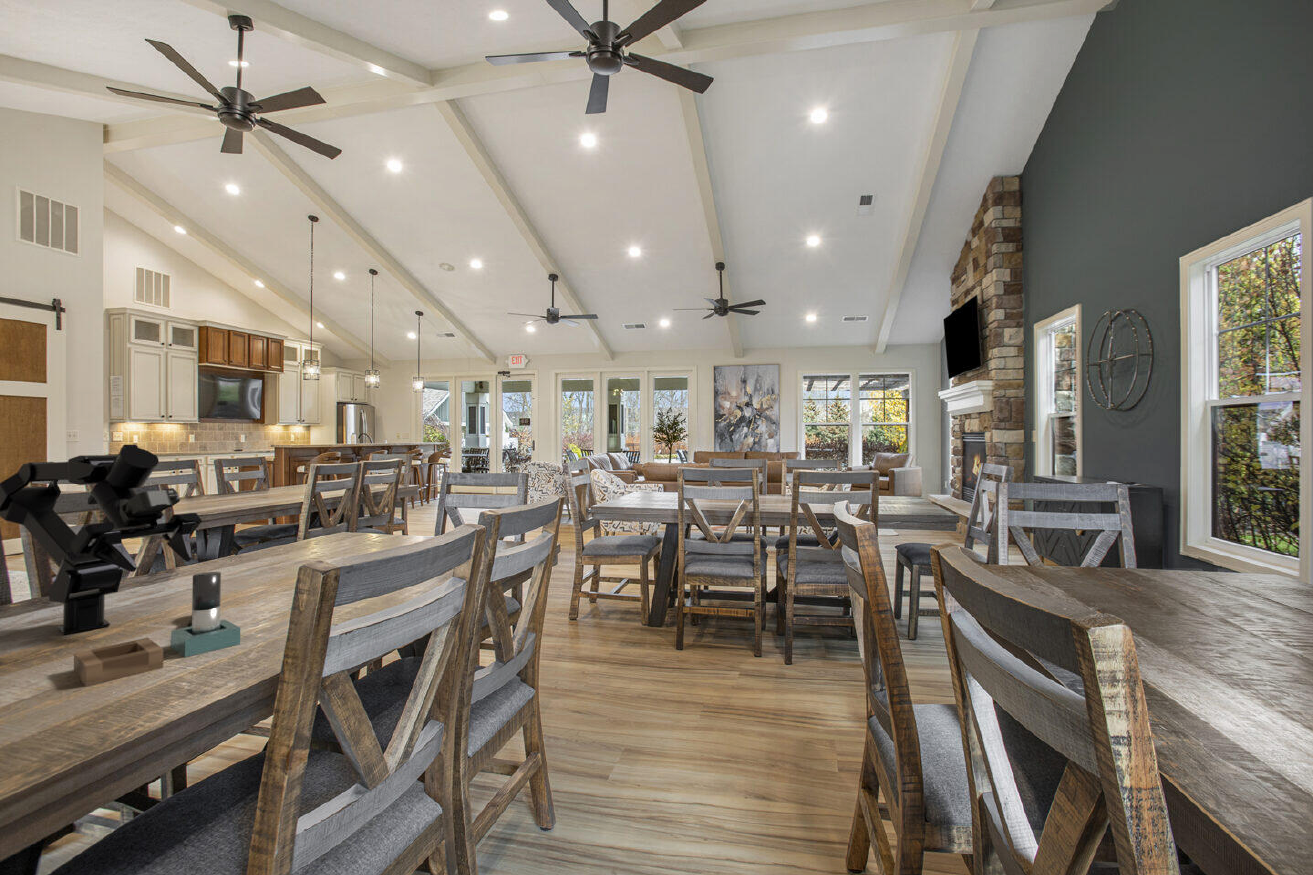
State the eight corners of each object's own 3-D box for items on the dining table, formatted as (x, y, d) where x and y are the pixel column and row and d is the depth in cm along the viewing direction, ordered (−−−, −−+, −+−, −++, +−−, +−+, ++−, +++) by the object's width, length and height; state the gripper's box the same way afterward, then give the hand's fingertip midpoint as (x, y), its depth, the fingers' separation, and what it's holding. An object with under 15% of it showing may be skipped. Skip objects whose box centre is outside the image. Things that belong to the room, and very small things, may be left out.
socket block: (170, 647, 101) (171, 630, 101) (224, 634, 107) (224, 619, 107) (185, 657, 96) (185, 639, 96) (240, 643, 103) (240, 627, 103)
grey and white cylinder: (188, 646, 101) (189, 574, 101) (215, 640, 105) (216, 570, 105) (195, 651, 99) (196, 578, 99) (223, 644, 102) (224, 573, 102)
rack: (73, 671, 90) (74, 653, 90) (147, 654, 97) (147, 637, 97) (85, 686, 85) (86, 666, 85) (163, 667, 92) (163, 648, 92)
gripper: (81, 478, 98) (126, 544, 94) (195, 473, 116) (235, 528, 112) (51, 522, 100) (93, 588, 96) (167, 510, 118) (206, 565, 114)
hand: (163, 564), depth 105 cm, fingers open, 9 cm apart
